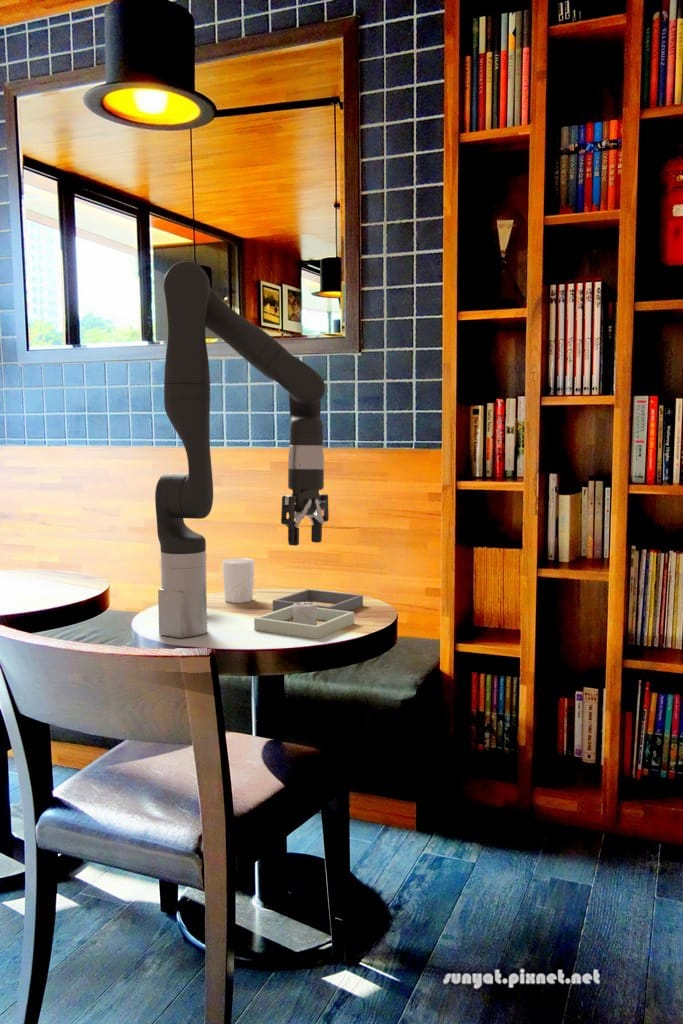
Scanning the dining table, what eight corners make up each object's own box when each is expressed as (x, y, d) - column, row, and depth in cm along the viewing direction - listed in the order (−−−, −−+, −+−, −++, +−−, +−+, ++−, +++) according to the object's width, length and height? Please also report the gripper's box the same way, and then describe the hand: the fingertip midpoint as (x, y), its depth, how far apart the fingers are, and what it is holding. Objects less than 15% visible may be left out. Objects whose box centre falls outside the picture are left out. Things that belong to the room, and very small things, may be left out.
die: (316, 629, 175) (316, 606, 174) (293, 629, 174) (293, 606, 174) (316, 624, 180) (316, 601, 179) (293, 624, 179) (293, 601, 179)
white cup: (256, 597, 208) (256, 558, 207) (252, 603, 200) (252, 563, 199) (225, 597, 208) (225, 558, 207) (220, 603, 200) (219, 563, 200)
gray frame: (330, 618, 185) (330, 607, 184) (272, 610, 192) (272, 600, 192) (362, 605, 198) (362, 595, 198) (308, 599, 206) (308, 589, 206)
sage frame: (317, 639, 166) (317, 626, 166) (254, 629, 174) (254, 618, 174) (354, 623, 180) (354, 612, 180) (294, 615, 188) (294, 604, 187)
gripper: (301, 467, 165) (300, 547, 166) (339, 467, 177) (338, 542, 178) (271, 466, 169) (270, 545, 170) (310, 467, 181) (309, 540, 182)
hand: (305, 543), depth 174 cm, fingers open, 8 cm apart
